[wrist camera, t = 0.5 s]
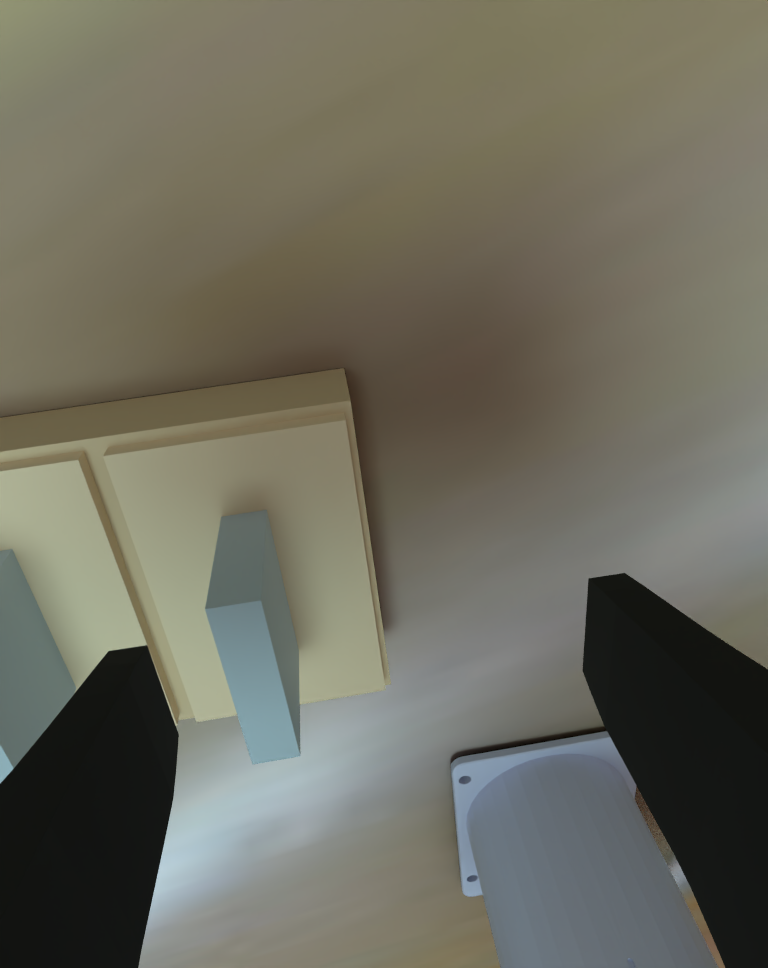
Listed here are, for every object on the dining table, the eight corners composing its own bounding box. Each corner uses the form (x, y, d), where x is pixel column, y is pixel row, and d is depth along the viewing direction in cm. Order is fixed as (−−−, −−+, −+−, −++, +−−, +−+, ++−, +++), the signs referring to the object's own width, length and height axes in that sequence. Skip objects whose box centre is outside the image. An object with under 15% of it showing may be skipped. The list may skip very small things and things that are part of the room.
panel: (382, 632, 24) (390, 684, 22) (14, 693, 23) (-15, 752, 21) (343, 368, 19) (350, 400, 17) (-123, 435, 19) (-178, 477, 16)
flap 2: (384, 678, 22) (402, 795, 18) (198, 710, 22) (178, 835, 18) (344, 412, 17) (358, 495, 13) (107, 447, 17) (55, 542, 13)
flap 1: (179, 713, 21) (155, 839, 18) (-12, 745, 21) (-77, 880, 17) (83, 450, 17) (24, 546, 13) (-164, 487, 17) (-296, 596, 13)
